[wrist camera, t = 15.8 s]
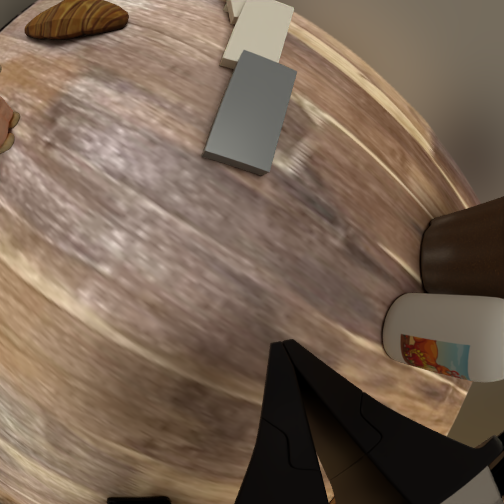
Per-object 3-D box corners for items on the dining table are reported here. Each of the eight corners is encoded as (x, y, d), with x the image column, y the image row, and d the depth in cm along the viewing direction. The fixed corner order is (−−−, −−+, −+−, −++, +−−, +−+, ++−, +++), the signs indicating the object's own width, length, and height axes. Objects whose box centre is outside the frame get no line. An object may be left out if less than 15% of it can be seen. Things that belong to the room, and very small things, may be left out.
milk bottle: (378, 302, 25) (572, 315, 6) (420, 285, 27) (573, 285, 9) (380, 370, 25) (546, 416, 6) (421, 345, 27) (560, 368, 8)
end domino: (269, 172, 20) (297, 71, 19) (204, 150, 18) (243, 49, 18) (261, 175, 21) (288, 80, 21) (201, 156, 20) (238, 60, 19)
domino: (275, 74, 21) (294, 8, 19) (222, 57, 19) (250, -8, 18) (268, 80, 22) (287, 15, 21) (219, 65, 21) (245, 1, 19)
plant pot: (458, 205, 33) (542, 187, 17) (465, 307, 32) (549, 310, 17) (401, 199, 27) (525, 166, 12) (410, 338, 27) (531, 357, 11)
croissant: (13, 55, 13) (2, 28, 8) (42, 18, 14) (36, -8, 9) (115, 48, 18) (113, 12, 13) (138, 12, 18) (142, -20, 14)
